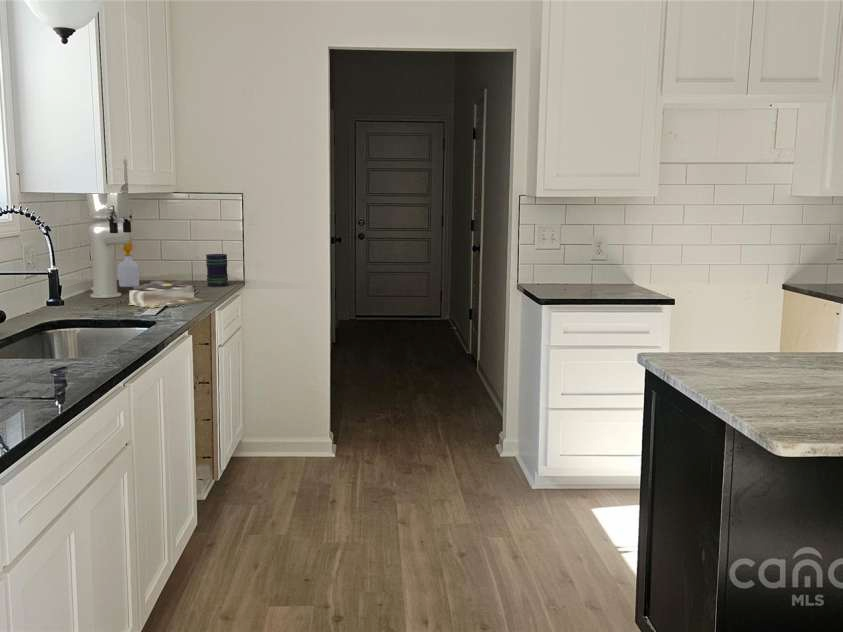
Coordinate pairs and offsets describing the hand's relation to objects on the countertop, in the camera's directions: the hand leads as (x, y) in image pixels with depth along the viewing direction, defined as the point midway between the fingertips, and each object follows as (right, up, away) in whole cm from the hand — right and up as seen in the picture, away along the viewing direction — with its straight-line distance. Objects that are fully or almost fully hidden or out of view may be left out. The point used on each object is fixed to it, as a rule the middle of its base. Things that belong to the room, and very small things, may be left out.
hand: (120, 232), depth 335 cm
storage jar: (+20, -18, +74) cm, 79 cm away
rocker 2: (+17, -19, +19) cm, 32 cm away
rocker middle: (+12, -20, +13) cm, 27 cm away
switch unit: (+14, -28, +13) cm, 34 cm away
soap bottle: (-22, -19, +74) cm, 79 cm away
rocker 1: (+7, -21, +7) cm, 23 cm away
